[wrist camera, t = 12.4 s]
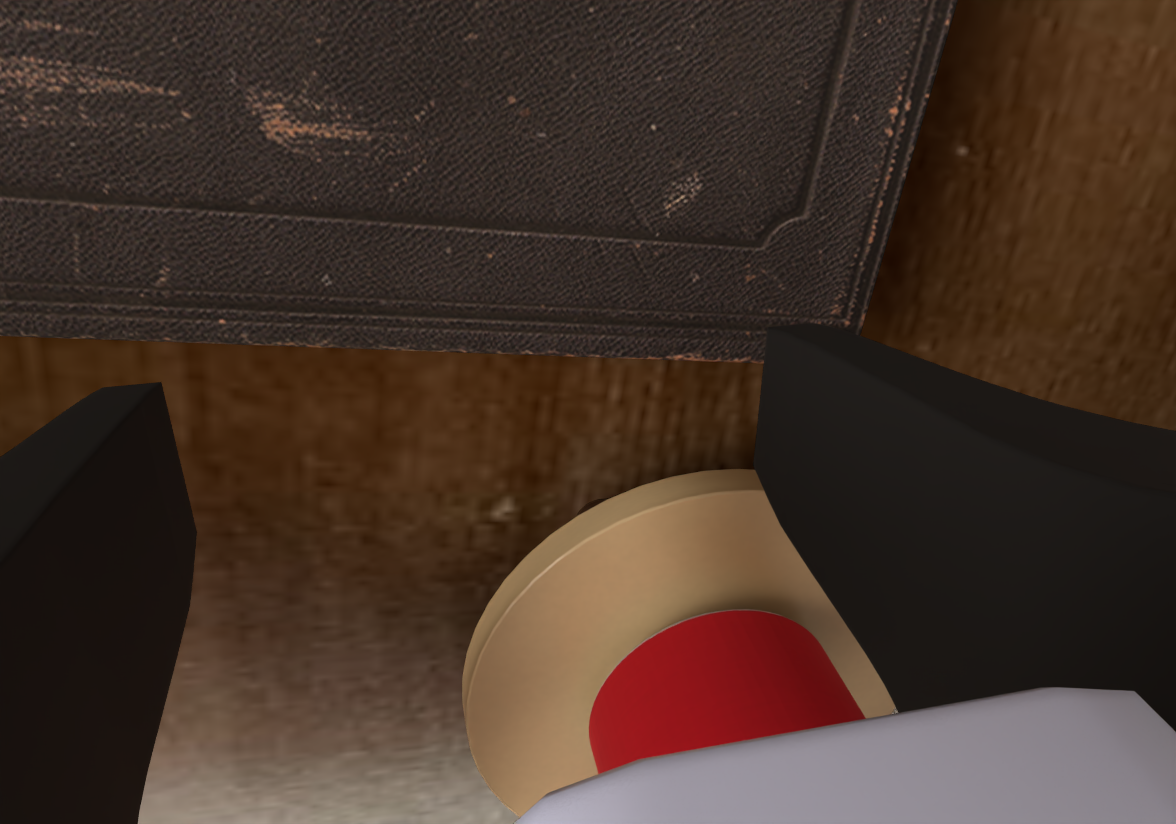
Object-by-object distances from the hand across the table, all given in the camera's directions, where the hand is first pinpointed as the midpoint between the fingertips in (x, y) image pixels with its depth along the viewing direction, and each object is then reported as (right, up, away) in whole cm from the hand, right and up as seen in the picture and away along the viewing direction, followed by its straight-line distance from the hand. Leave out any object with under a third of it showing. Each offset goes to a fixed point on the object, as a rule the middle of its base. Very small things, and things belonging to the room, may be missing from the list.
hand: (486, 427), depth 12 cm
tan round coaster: (+3, -5, +15) cm, 17 cm away
